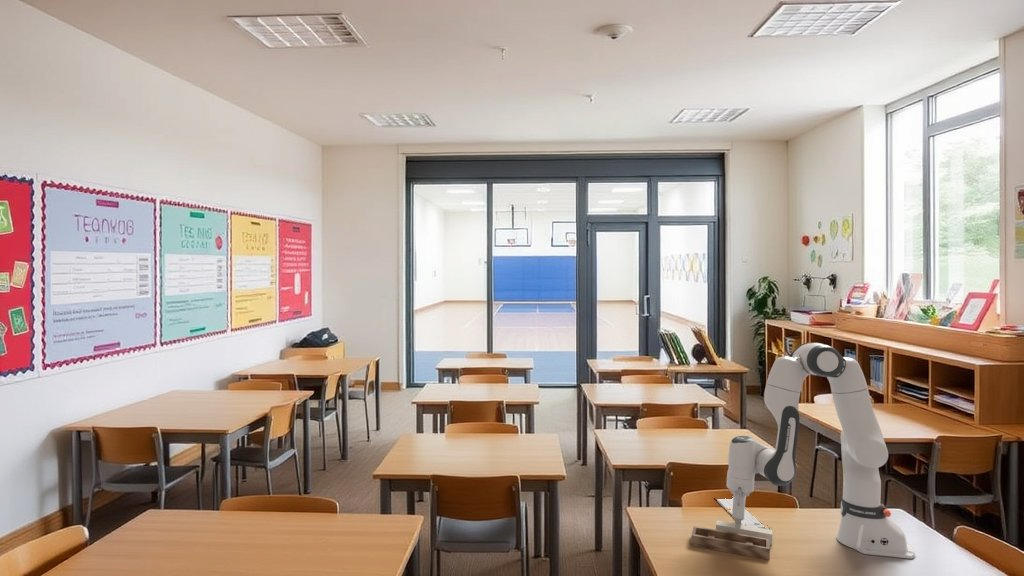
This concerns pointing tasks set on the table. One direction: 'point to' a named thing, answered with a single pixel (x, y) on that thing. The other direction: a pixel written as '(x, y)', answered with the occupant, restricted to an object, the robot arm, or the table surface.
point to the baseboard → (748, 518)
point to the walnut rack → (731, 542)
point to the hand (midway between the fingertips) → (738, 523)
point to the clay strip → (745, 530)
